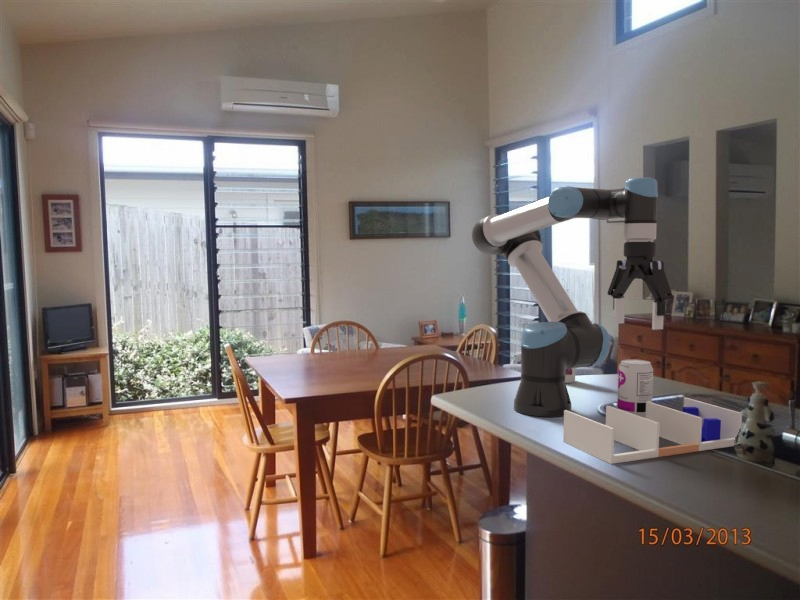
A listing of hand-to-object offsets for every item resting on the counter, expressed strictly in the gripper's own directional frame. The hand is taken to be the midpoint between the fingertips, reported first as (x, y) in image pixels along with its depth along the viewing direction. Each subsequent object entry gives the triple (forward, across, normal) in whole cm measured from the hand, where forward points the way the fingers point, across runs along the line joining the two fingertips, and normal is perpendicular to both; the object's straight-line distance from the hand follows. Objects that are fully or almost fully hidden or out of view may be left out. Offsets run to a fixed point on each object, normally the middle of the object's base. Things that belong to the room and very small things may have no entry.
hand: (637, 326), depth 160 cm
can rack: (+24, -17, +10) cm, 31 cm away
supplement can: (+24, 0, 0) cm, 24 cm away
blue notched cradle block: (+24, -17, -3) cm, 30 cm away
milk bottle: (+24, +47, -12) cm, 54 cm away
